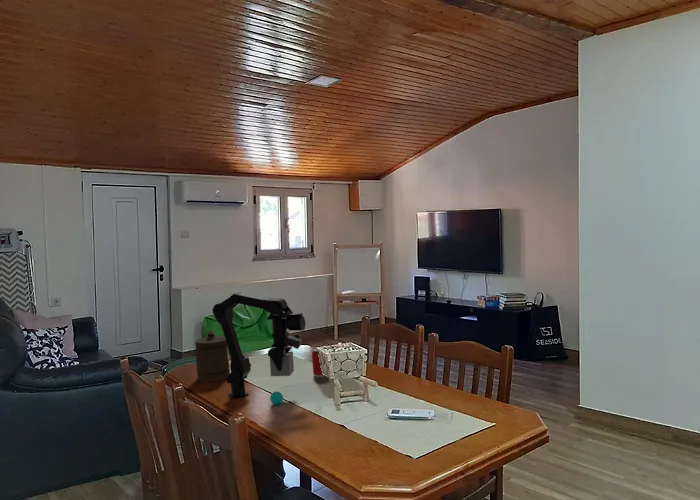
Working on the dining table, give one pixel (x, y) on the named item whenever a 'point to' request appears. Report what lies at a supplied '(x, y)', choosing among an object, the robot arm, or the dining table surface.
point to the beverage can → (316, 364)
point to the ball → (276, 398)
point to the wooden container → (212, 358)
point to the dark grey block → (283, 366)
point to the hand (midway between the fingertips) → (282, 368)
